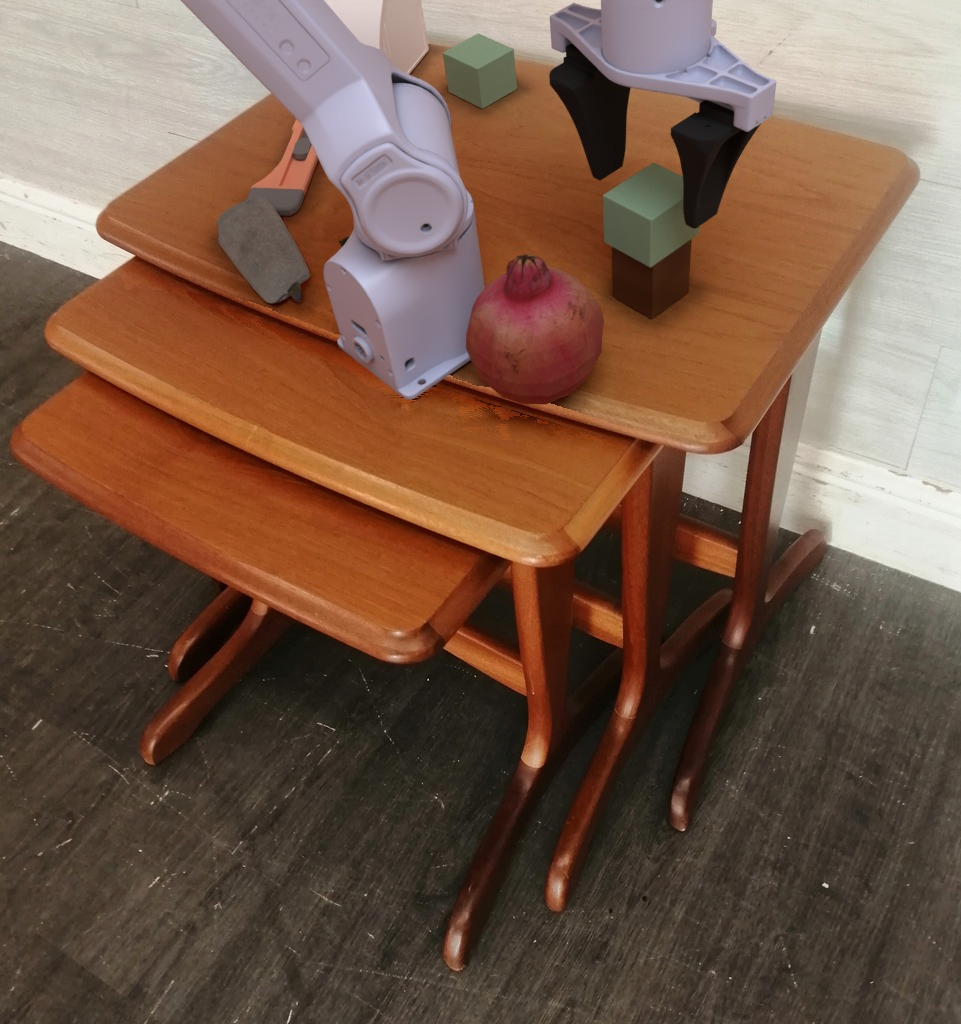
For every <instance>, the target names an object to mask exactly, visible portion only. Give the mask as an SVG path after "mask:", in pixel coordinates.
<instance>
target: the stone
mask: <svg viewBox="0 0 961 1024" xmlns="http://www.w3.org/2000/svg"><path fill="white" fill-rule="evenodd" d="M246 199H247V198H246ZM246 199H245V200H242V201H240V202H237V203H236V204H234V205H232V206H230V207H229V208H227V209H226V210H224V211H223V212H222V213H221V214H220V215H219V217H218V218H217V220H216V226H217V229H218V231H217V233H218V234H217V235H218V236H217V237H218V239H217V242H218V245H219V246H220V248H221V250H222V251H223V252H224V253H225V255H226V257H228V259H229V260H230V261H231V263H232V264H233V266H234V267H235V268H236V269H237V271H238V272H239V274H241V275H242V278H244V279H245V281H246V282H247V283H248V284H249V285H250V287H251V288H252V290H254V291H255V293H257V295H258V296H259V297H260V298H261V299H262V300H263V301H264V302H265V303H267V304H271V305H272V304H273V305H274V304H279V303H282V302H283V301H285V300H286V299H288V298H289V297H290V296H289V295H288V294H289V293H288V292H287V291H288V289H289V288H290V286H291V285H292V284H293V283H294V282H298V283H299V285H300V286H301V285H302V284H304V283H305V282H306V281H308V279H310V277H311V273H310V270H309V267H308V265H307V263H306V260H305V258H304V256H303V254H302V252H301V250H300V249H299V247H298V244H297V243H296V241H295V239H294V238H293V236H292V234H291V232H290V230H289V229H288V227H287V226H286V224H285V223H284V221H283V219H282V216H279V214H278V212H277V211H276V209H275V208H274V206H273V205H272V203H271V202H270V201H269V200H268V199H266V198H263V197H254V198H250V199H247V200H246Z"/></svg>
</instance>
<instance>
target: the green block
mask: <svg viewBox="0 0 961 1024" xmlns="http://www.w3.org/2000/svg"><path fill="white" fill-rule="evenodd" d="M442 58H443V64H444V71H445V72H444V73H445V78H446V84H447V91H448V93H450V94H452V95H454V96H456V97H457V98H459V99H462V100H464V101H466V102H468V103H470V104H472V105H474V106H475V107H477V108H480V109H481V110H483V109H485V108H487V107H488V106H490V105H492V104H494V103H495V102H497V101H499V100H501V99H502V98H504V97H506V96H508V95H509V94H512V93H513V92H515V91H516V90H518V82H517V72H516V71H517V70H516V59H515V49H514V48H512V47H510V46H508V45H505V44H503V43H501V42H499V41H496V40H494V39H492V38H490V37H487V36H485V35H483V34H481V33H476V34H475V35H472V36H471V37H468V38H467V39H465V40H463V41H461V42H459V43H458V44H455V45H454V46H451V47H450V48H448V49H446V50H444V51H443V52H442Z"/></svg>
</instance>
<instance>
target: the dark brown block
mask: <svg viewBox="0 0 961 1024" xmlns="http://www.w3.org/2000/svg"><path fill="white" fill-rule="evenodd" d="M692 243H693V238H692V239H691V240H689V241H688V242H687V243H685V244H684V245H682V246H681V247H679V248H678V249H677V250H675V251H674V252H672V253H671V254H669V255H668V256H667V257H665V258H664V259H662V260H661V261H659V262H658V263H657V264H655V265H654V266H652V267H648V266H646V265H644V264H643V263H641V262H639V261H637V260H635V259H634V258H632V257H630V256H628V255H626V254H625V253H623V252H621V251H619V250H617V249H616V248H614V247H612V246H610V248H611V291H612V292H611V296H612V297H613V298H615V299H616V300H618V301H620V302H622V303H624V304H625V305H627V306H629V307H630V308H631V309H634V310H635V311H637V312H638V313H641V315H644V316H645V317H647V318H649V319H650V320H653V319H655V318H656V317H657V316H658V315H660V314H661V313H662V312H664V311H665V310H667V309H668V308H670V307H671V306H672V305H673V304H675V303H676V302H678V301H679V300H680V299H682V298H684V296H686V295H687V294H689V292H690V279H691V278H690V277H691V276H690V275H691V259H692Z"/></svg>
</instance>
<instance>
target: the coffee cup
mask: <svg viewBox="0 0 961 1024" xmlns="http://www.w3.org/2000/svg"><path fill="white" fill-rule="evenodd" d="M324 1H325V2H326V3H327V4H328V6H329V7H330V8H331V9H332V10H333V11H334V13H335V14H336V15H337V16H338V17H339V18H340V20H341V21H342V22H343V23H344V24H345V25H346V27H347V28H348V29H349V30H350V31H351V32H352V34H353V35H354V36H355V37H356V38H357V39H358V40H359V42H361V43H363V44H365V45H368V46H372V47H375V48H378V49H380V50H382V51H383V52H384V24H385V15H386V9H387V4H388V0H324Z"/></svg>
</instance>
